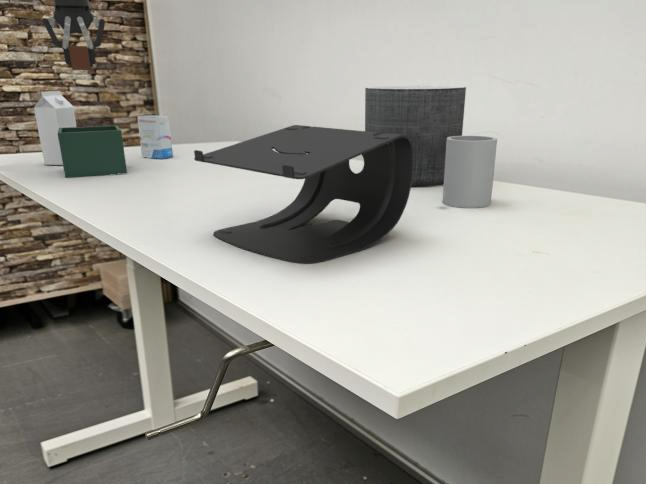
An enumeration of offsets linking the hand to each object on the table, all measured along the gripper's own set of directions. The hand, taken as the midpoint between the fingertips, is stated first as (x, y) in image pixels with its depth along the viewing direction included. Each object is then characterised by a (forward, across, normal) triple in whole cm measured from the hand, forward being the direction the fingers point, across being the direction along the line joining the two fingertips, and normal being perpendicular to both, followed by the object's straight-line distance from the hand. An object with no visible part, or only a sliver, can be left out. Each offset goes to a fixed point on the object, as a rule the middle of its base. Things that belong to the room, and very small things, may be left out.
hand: (81, 66), depth 143 cm
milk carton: (+25, +9, -23) cm, 35 cm away
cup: (+25, -67, +65) cm, 96 cm away
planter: (+25, -69, +37) cm, 82 cm away
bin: (+25, 0, -5) cm, 26 cm away
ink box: (+25, -17, -26) cm, 40 cm away
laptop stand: (+25, -30, +76) cm, 86 cm away
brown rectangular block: (+1, 0, 0) cm, 1 cm away
